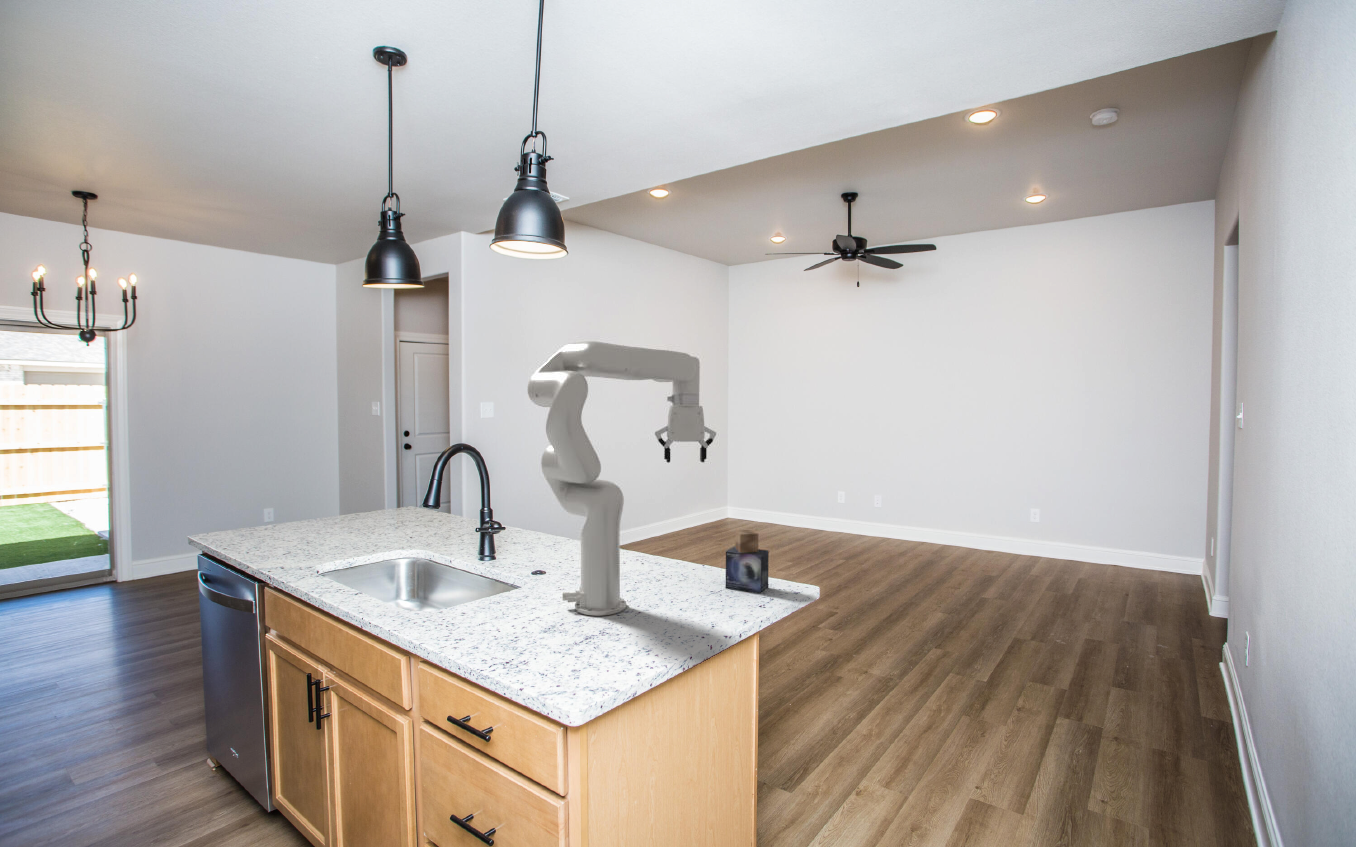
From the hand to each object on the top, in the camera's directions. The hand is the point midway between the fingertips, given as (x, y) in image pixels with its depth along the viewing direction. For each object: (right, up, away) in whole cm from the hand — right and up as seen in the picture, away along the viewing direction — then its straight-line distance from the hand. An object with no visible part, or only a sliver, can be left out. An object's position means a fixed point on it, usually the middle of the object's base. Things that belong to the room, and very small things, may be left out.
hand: (685, 462), depth 183 cm
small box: (+17, -34, -5) cm, 38 cm away
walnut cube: (+17, -24, -6) cm, 29 cm away
